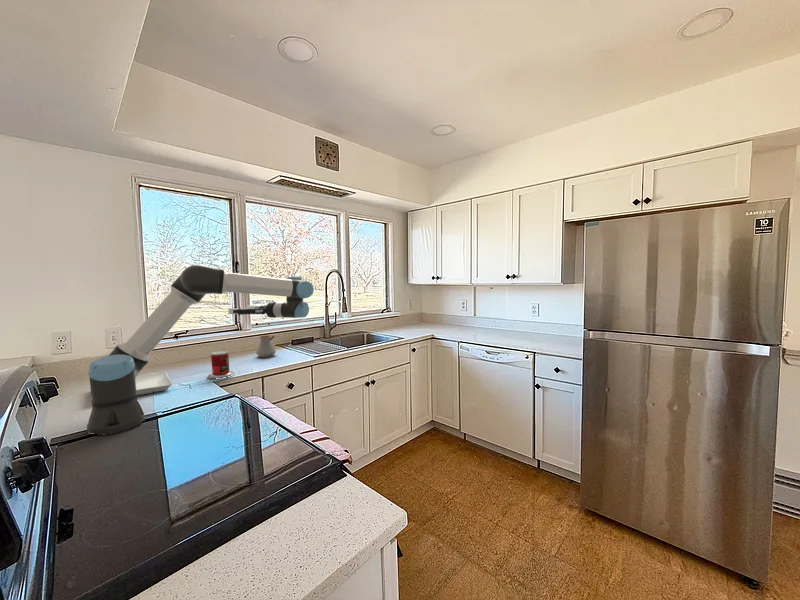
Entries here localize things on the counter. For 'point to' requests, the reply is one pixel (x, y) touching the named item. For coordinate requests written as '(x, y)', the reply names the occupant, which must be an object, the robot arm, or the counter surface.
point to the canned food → (220, 363)
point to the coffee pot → (266, 347)
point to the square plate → (151, 383)
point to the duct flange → (220, 375)
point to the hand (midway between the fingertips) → (238, 309)
